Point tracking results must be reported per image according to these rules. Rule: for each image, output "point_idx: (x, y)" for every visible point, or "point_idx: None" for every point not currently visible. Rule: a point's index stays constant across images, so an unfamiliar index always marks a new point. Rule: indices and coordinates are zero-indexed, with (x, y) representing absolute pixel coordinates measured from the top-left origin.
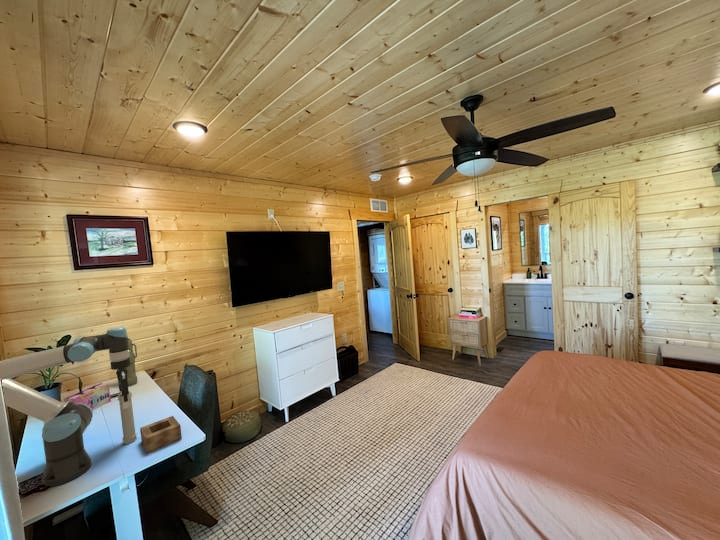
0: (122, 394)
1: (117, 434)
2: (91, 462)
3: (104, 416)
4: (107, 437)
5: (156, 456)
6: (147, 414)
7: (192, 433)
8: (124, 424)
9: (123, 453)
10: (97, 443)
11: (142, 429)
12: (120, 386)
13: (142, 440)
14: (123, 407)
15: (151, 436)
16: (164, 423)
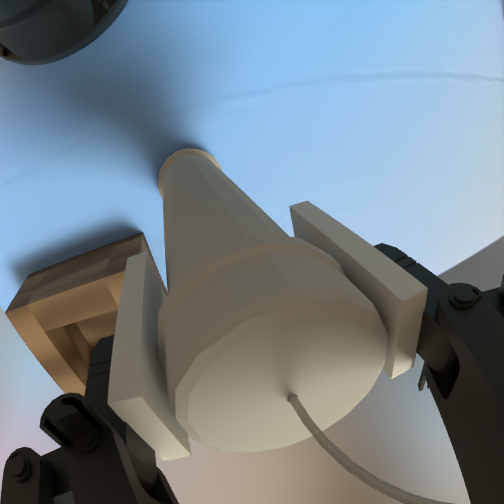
0: (6, 472)
1: (316, 106)
2: (58, 57)
3: (489, 78)
4: (316, 67)
5: (3, 306)
6: (416, 212)
7: None
8: (167, 190)
9: (74, 174)
10: (281, 32)
11: (107, 283)
12: (487, 402)
13: (108, 252)
14: (129, 272)
15: (18, 331)
16: None
